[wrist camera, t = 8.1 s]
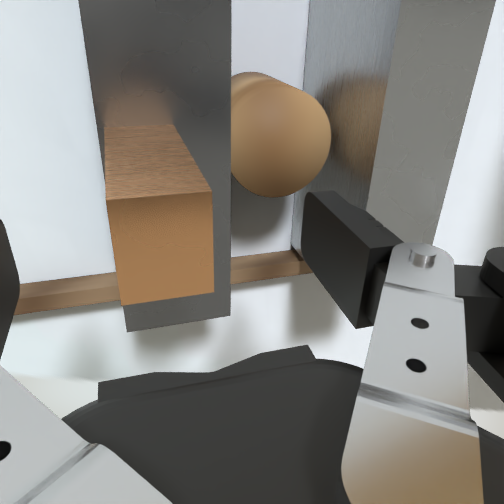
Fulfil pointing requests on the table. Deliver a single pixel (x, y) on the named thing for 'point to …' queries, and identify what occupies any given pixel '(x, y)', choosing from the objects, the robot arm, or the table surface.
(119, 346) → the table surface
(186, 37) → the press jaw
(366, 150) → the grey rectangular block
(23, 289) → the press frame
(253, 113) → the nut
